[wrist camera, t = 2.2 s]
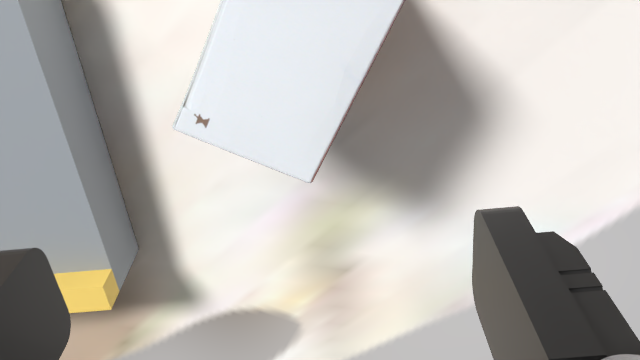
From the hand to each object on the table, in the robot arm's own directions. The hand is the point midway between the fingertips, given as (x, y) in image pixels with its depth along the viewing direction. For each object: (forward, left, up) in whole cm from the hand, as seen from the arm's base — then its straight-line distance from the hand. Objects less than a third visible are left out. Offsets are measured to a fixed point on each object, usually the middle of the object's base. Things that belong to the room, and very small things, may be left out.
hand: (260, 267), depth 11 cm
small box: (-1, 0, -21) cm, 21 cm away
